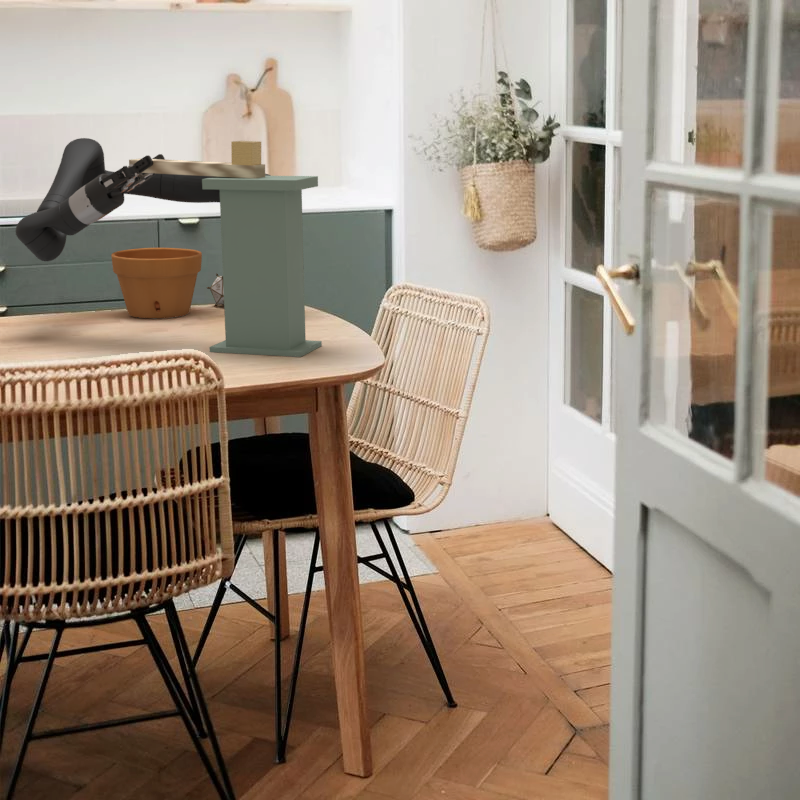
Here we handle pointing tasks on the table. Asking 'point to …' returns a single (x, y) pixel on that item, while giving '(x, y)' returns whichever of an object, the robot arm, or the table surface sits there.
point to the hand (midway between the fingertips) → (156, 158)
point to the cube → (246, 152)
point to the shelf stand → (263, 264)
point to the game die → (217, 290)
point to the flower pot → (157, 280)
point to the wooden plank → (204, 168)
